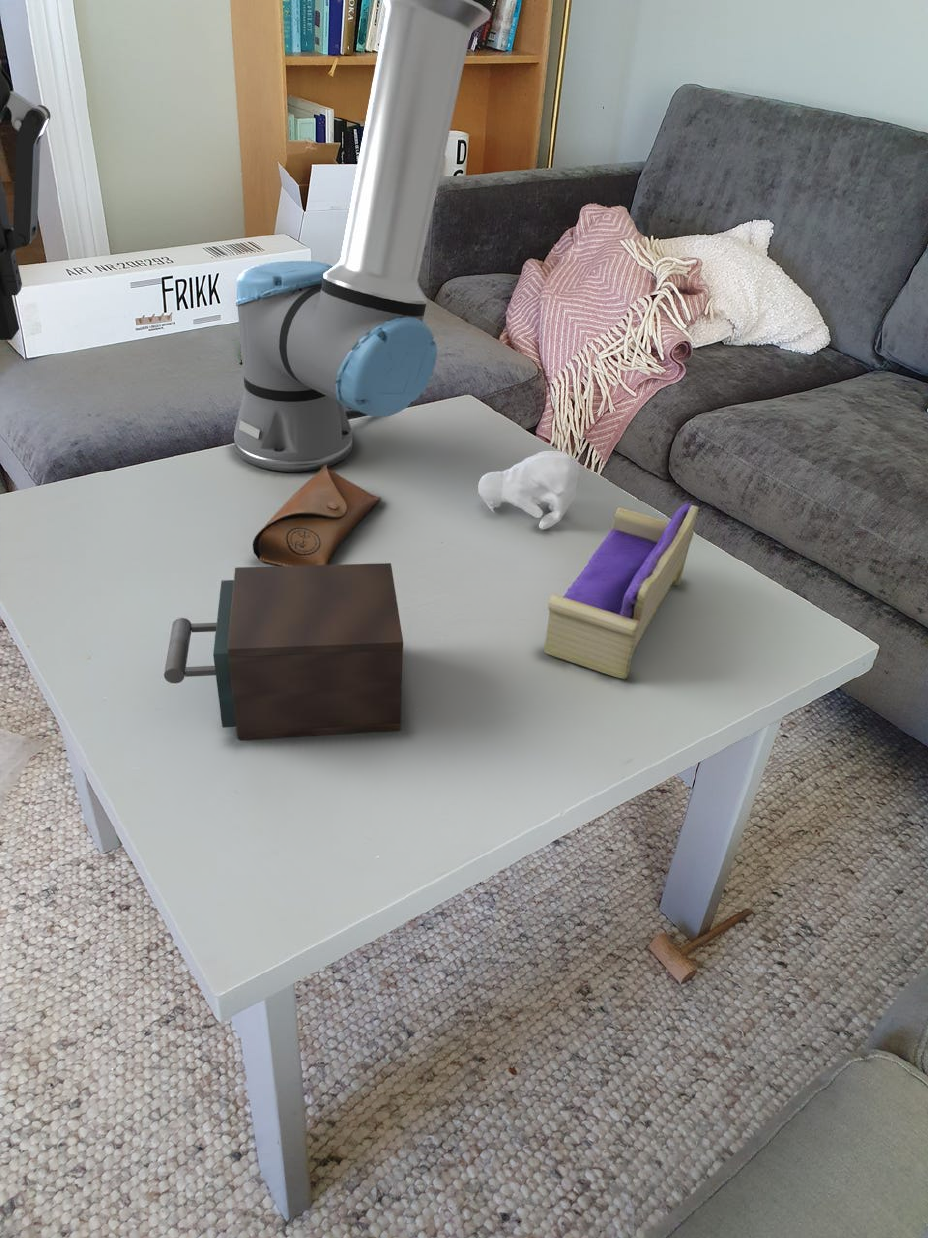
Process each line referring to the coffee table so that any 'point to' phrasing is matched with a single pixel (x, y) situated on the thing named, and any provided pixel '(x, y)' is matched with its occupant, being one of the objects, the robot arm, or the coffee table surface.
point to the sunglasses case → (313, 521)
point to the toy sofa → (619, 591)
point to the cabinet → (315, 650)
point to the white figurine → (534, 485)
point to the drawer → (180, 647)
